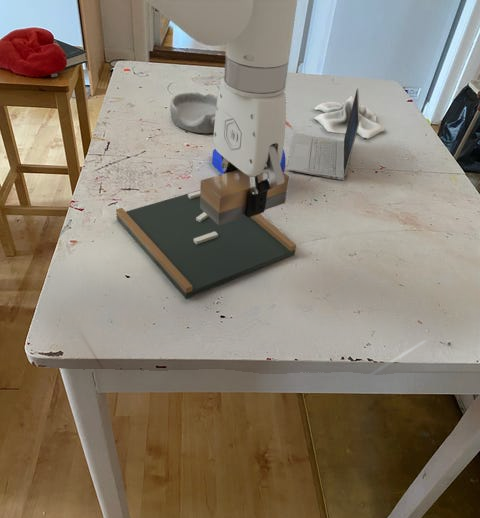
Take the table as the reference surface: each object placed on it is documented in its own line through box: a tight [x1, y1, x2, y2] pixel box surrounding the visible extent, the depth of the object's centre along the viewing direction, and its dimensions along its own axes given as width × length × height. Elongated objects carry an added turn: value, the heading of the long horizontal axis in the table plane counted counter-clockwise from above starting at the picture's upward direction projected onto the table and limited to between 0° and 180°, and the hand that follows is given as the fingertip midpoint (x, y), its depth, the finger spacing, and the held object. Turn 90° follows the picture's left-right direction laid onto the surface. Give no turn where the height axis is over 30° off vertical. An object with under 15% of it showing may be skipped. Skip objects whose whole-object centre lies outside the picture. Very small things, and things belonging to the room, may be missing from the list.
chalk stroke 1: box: [196, 212, 208, 222], centre depth 86 cm, size 5×1×1 cm, turn 145°
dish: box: [169, 91, 218, 134], centre depth 114 cm, size 14×14×5 cm
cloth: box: [313, 95, 386, 140], centre depth 122 cm, size 22×19×6 cm
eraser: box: [199, 170, 290, 225], centre depth 68 cm, size 12×5×4 cm, turn 125°
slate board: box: [115, 189, 297, 300], centre depth 83 cm, size 22×24×2 cm
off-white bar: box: [187, 190, 200, 199], centre depth 90 cm, size 4×1×1 cm, turn 125°
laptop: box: [287, 88, 360, 181], centre depth 103 cm, size 18×12×13 cm
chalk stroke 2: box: [194, 232, 218, 244], centre depth 81 cm, size 4×1×1 cm, turn 125°
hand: (243, 203), depth 70 cm, fingers closed on eraser, 5 cm apart
